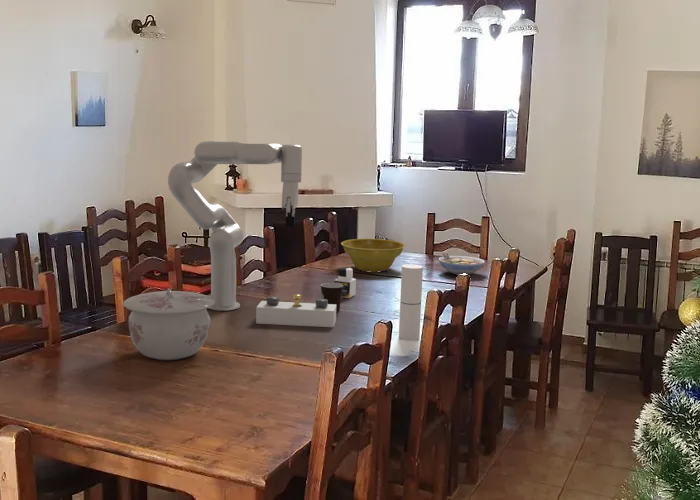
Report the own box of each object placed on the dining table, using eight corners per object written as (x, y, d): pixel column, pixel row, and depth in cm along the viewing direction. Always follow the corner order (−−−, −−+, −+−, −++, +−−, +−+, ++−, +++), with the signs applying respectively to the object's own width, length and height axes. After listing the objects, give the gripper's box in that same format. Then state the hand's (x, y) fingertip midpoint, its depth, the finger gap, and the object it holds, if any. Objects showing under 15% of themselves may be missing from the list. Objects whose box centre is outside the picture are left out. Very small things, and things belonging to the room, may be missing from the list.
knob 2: (314, 321, 275) (314, 301, 274) (315, 318, 279) (316, 298, 278) (326, 322, 275) (327, 301, 273) (327, 319, 279) (328, 299, 278)
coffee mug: (339, 313, 291) (340, 288, 289) (317, 312, 293) (318, 286, 291) (345, 307, 302) (346, 282, 301) (324, 305, 304) (325, 280, 302)
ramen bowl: (488, 280, 364) (489, 263, 363) (440, 278, 364) (441, 262, 363) (479, 270, 389) (480, 254, 387) (435, 268, 389) (436, 253, 388)
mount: (256, 323, 274) (256, 307, 273) (261, 316, 284) (261, 300, 283) (333, 327, 272) (333, 311, 271) (335, 320, 282) (336, 304, 281)
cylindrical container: (405, 341, 257) (409, 268, 253) (394, 335, 264) (398, 265, 259) (423, 339, 261) (427, 267, 256) (412, 333, 267) (415, 263, 263)
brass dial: (292, 309, 275) (292, 295, 275) (293, 307, 278) (293, 294, 278) (300, 309, 275) (300, 296, 274) (301, 307, 278) (301, 294, 277)
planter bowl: (383, 279, 358) (384, 251, 356) (327, 270, 376) (328, 243, 373) (415, 269, 385) (417, 243, 383) (362, 261, 402) (363, 236, 400)
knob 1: (265, 319, 276) (265, 298, 275) (267, 316, 280) (267, 296, 279) (277, 319, 276) (277, 299, 275) (279, 316, 280) (279, 296, 279)
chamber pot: (169, 374, 217) (169, 303, 213) (104, 356, 231) (102, 289, 228) (234, 351, 240) (234, 287, 237) (171, 336, 254) (170, 275, 251)
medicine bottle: (333, 296, 320) (334, 268, 318) (340, 293, 327) (341, 265, 325) (349, 298, 317) (350, 270, 315) (355, 295, 324) (356, 267, 322)
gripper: (284, 176, 290) (283, 223, 293) (277, 179, 275) (276, 229, 278) (303, 177, 289) (302, 224, 292) (298, 179, 275) (297, 230, 278)
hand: (290, 226), depth 285 cm, fingers closed
